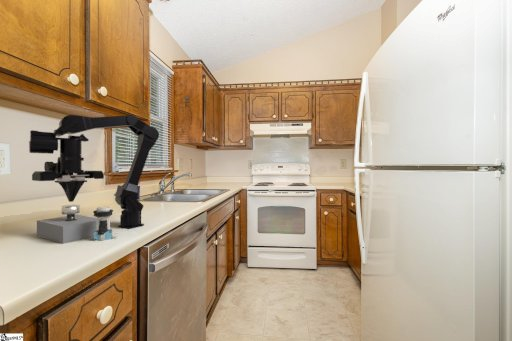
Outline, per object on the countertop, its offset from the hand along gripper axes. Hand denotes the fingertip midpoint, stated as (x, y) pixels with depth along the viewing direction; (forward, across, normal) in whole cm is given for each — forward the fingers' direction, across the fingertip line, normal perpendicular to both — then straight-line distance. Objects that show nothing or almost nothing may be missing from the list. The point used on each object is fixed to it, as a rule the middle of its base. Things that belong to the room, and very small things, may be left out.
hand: (71, 201), depth 84 cm
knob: (+9, 0, 0) cm, 9 cm away
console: (+11, 0, 0) cm, 11 cm away
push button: (+11, -3, +14) cm, 18 cm away
